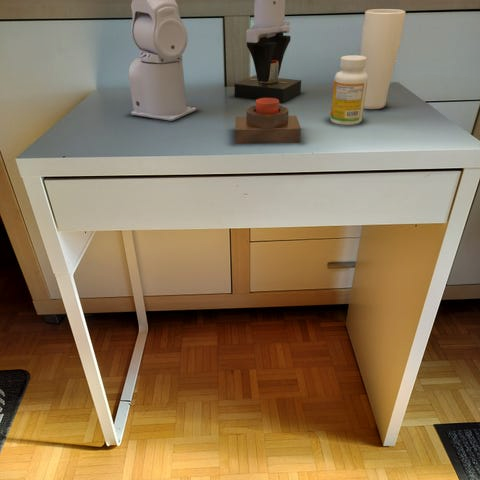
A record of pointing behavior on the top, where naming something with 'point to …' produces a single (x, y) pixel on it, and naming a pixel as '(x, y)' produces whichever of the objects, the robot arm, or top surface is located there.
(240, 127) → the button block
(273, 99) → the button
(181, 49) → the robot arm
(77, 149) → the top surface
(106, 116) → the top surface
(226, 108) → the top surface
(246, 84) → the dial panel
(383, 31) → the tall cream tumbler
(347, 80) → the supplement bottle
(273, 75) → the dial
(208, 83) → the top surface
